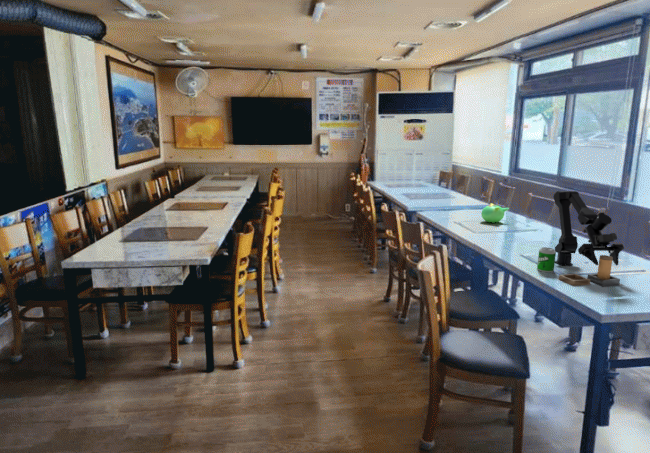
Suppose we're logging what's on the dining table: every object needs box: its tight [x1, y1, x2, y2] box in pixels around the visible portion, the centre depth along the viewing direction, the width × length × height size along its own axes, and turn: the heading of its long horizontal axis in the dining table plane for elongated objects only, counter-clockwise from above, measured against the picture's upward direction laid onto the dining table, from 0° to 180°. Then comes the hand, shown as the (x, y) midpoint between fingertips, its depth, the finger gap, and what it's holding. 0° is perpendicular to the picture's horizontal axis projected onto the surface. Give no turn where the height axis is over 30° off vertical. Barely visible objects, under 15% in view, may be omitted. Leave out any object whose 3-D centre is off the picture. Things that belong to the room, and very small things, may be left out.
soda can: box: [536, 247, 557, 273], centre depth 222 cm, size 8×8×12 cm
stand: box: [557, 273, 592, 287], centre depth 206 cm, size 10×10×3 cm
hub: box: [586, 273, 624, 288], centre depth 205 cm, size 12×12×4 cm
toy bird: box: [481, 202, 510, 224], centre depth 346 cm, size 18×17×15 cm
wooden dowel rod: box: [596, 254, 613, 280], centre depth 204 cm, size 5×5×12 cm
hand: (607, 265), depth 203 cm, fingers open, 9 cm apart
